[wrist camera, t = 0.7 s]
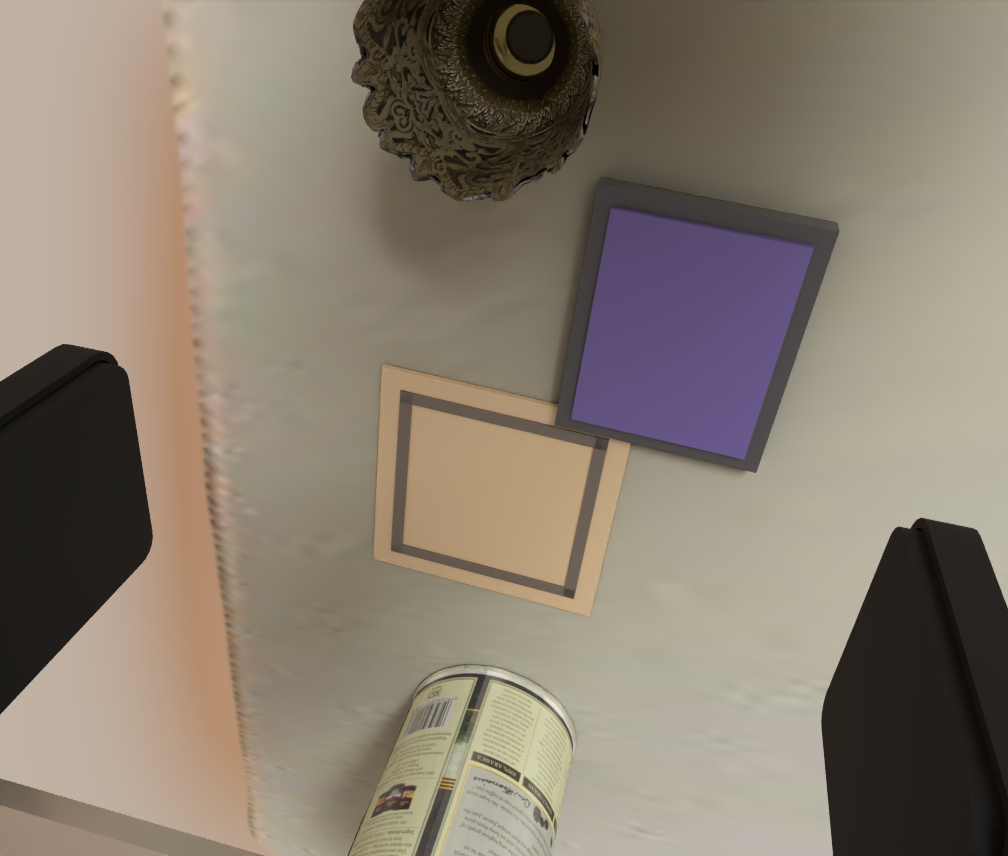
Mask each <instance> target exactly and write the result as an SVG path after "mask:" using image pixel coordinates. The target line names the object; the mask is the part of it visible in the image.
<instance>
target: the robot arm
mask: <svg viewBox="0 0 1008 856" xmlns="http://www.w3.org/2000/svg"><path fill="white" fill-rule="evenodd" d="M152 539H153V535H152V526H151V520H150V513H149V507H148V501H147V494H146V487H145V482H144V476H143V468H142V462H141V455H140V449H139V442H138V436H137V430H136V423H135V417H134V410H133V404H132V398H131V391H130V385H129V379H128V375H127V373H126V371H125V370H124V369H123V368H122V367H120V366H118V362H117V361H116V359H115V358H114V356H113V355H111V354H110V353H108V352H104V351H99V350H94V349H89V348H84V347H80V346H75V345H68V344H62V345H60V346H57V347H55V348H54V349H52V350H51V351H49V352H47V353H46V354H44V355H42V356H41V357H39V358H37V359H36V360H34V361H33V362H31V363H29V364H28V365H26V366H25V367H23V368H21V369H20V370H18V371H17V372H15V373H13V374H12V375H10V376H9V377H7V378H5V379H4V380H2V381H0V714H1V713H2V712H3V711H4V710H5V709H6V708H7V706H8V705H9V704H10V703H11V702H12V701H13V700H14V699H15V698H16V697H17V696H18V695H19V694H20V693H21V692H22V691H23V690H24V688H25V687H26V686H27V685H28V684H29V683H30V682H31V681H32V680H33V679H34V678H35V677H36V676H37V675H38V674H39V672H40V671H41V670H42V669H43V668H44V667H45V666H46V665H47V664H48V663H49V662H50V661H51V660H52V659H53V658H54V656H55V655H56V654H57V653H58V652H59V651H60V650H61V649H62V648H63V647H64V646H65V645H66V644H67V643H68V642H69V640H70V639H71V638H72V637H73V636H74V635H75V634H76V633H77V632H78V631H79V630H80V629H81V628H82V627H83V626H84V625H85V623H86V622H87V621H88V620H89V619H90V618H91V617H92V616H93V615H94V614H95V613H96V612H97V610H98V609H100V607H101V606H102V605H103V604H104V603H105V602H106V601H107V600H108V599H109V598H110V597H111V596H112V595H113V594H114V593H115V591H116V590H117V589H118V588H119V587H120V586H121V585H122V584H123V583H124V582H125V581H126V580H127V579H128V578H129V577H130V575H131V574H132V573H133V572H134V571H135V570H136V569H137V568H138V567H139V566H140V565H141V564H142V563H143V561H144V560H145V559H146V557H147V555H148V553H149V551H150V548H151V545H152ZM821 722H822V737H823V748H824V759H825V770H826V781H827V792H828V803H829V814H830V825H831V836H832V847H833V856H1008V608H1007V605H1006V603H1005V600H1004V597H1003V595H1002V592H1001V589H1000V587H999V584H998V581H997V579H996V576H995V573H994V571H993V568H992V565H991V563H990V560H989V557H988V555H987V552H986V549H985V547H984V544H983V541H982V539H981V536H980V534H979V533H978V531H977V530H975V529H973V528H969V527H964V526H959V525H954V524H949V523H944V522H939V521H934V520H929V519H925V518H920V519H917V520H916V521H915V523H914V524H913V525H912V527H911V529H908V528H903V527H897V528H895V530H894V531H893V532H892V534H891V536H890V538H889V541H888V543H887V546H886V548H885V550H884V553H883V555H882V558H881V560H880V563H879V565H878V568H877V570H876V573H875V575H874V578H873V580H872V582H871V585H870V587H869V590H868V592H867V595H866V597H865V600H864V602H863V605H862V607H861V609H860V612H859V614H858V617H857V619H856V622H855V624H854V627H853V629H852V632H851V634H850V637H849V639H848V641H847V644H846V646H845V649H844V651H843V654H842V656H841V659H840V661H839V664H838V666H837V668H836V671H835V673H834V676H833V678H832V681H831V683H830V686H829V688H828V691H827V693H826V696H825V700H824V704H823V710H822V721H821ZM0 856H263V855H259V854H256V853H253V852H249V851H246V850H242V849H239V848H236V847H233V846H229V845H226V844H222V843H219V842H216V841H212V840H209V839H205V838H202V837H199V836H195V835H192V834H188V833H185V832H182V831H178V830H175V829H171V828H168V827H164V826H161V825H158V824H154V823H151V822H148V821H144V820H141V819H137V818H134V817H130V816H127V815H124V814H120V813H116V812H114V811H110V810H106V809H103V808H100V807H96V806H93V805H89V804H86V803H83V802H79V801H76V800H73V799H69V798H66V797H62V796H58V795H55V794H52V793H48V792H45V791H42V790H38V789H34V788H31V787H28V786H24V785H21V784H17V783H14V782H10V781H7V780H3V779H0Z"/></svg>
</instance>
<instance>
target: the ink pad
mask: <svg viewBox="0 0 1008 856" xmlns="http://www.w3.org/2000/svg"><path fill="white" fill-rule="evenodd" d="M838 233H839V229H838V224H837V223H836V222H831V221H826V220H821V219H816V218H810V217H805V216H800V215H795V214H790V213H784V212H779V211H774V210H769V209H764V208H758V207H753V206H748V205H743V204H738V203H733V202H727V201H722V200H717V199H712V198H707V197H701V196H696V195H691V194H686V193H681V192H676V191H670V190H665V189H660V188H655V187H650V186H644V185H639V184H634V183H629V182H624V181H618V180H613V179H608V178H603V177H601V179H600V181H599V182H598V184H597V189H596V195H595V200H594V206H593V212H592V217H591V223H590V229H589V234H588V240H587V245H586V251H585V257H584V262H583V268H582V273H581V279H580V285H579V290H578V296H577V302H576V307H575V313H574V318H573V324H572V330H571V335H570V341H569V347H568V352H567V358H566V363H565V369H564V375H563V380H562V386H561V391H560V397H559V403H558V408H557V414H556V420H555V425H556V426H560V427H564V428H568V429H573V430H577V431H581V432H585V433H589V434H594V435H598V436H602V437H606V438H611V439H615V440H619V441H623V442H628V443H632V444H636V445H640V446H644V447H649V448H653V449H657V450H661V451H666V452H670V453H674V454H678V455H683V456H687V457H691V458H695V459H699V460H704V461H708V462H712V463H716V464H721V465H725V466H729V467H733V468H738V469H742V470H746V471H750V472H754V473H756V472H757V469H758V466H759V463H760V460H761V457H762V454H763V451H764V448H765V446H766V443H767V440H768V437H769V434H770V431H771V428H772V425H773V422H774V419H775V416H776V414H777V411H778V408H779V405H780V402H781V399H782V396H783V393H784V390H785V387H786V384H787V382H788V379H789V376H790V373H791V370H792V367H793V364H794V361H795V358H796V355H797V352H798V350H799V347H800V344H801V341H802V338H803V335H804V332H805V329H806V326H807V323H808V320H809V318H810V315H811V312H812V309H813V306H814V303H815V300H816V297H817V294H818V291H819V288H820V286H821V283H822V280H823V277H824V274H825V271H826V268H827V265H828V262H829V259H830V256H831V254H832V251H833V248H834V245H835V242H836V239H837V236H838Z"/></svg>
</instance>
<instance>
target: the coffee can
mask: <svg viewBox="0 0 1008 856" xmlns="http://www.w3.org/2000/svg"><path fill="white" fill-rule="evenodd" d="M575 749H576V734H575V729H574V725H573V723H572V721H571V719H570V717H569V716H568V714H567V712H566V711H565V709H564V708H563V707H562V705H561V704H560V703H559V702H558V701H557V700H556V699H555V698H554V697H553V696H552V695H550V694H549V693H548V692H547V691H545V690H544V689H543V688H541V687H540V686H538V685H536V684H535V683H533V682H532V681H530V680H529V679H526V678H524V677H521V676H519V675H517V674H514V673H512V672H509V671H506V670H503V669H500V668H495V667H489V666H482V665H461V666H455V667H450V668H446V669H443V670H440V671H438V672H436V673H434V674H432V675H431V676H429V677H428V678H427V679H425V680H424V681H423V682H422V683H421V684H420V685H419V686H418V688H417V690H416V692H415V694H414V697H413V700H412V705H411V707H410V709H409V711H408V714H407V716H406V719H405V721H404V723H403V726H402V728H401V731H400V733H399V735H398V738H397V740H396V743H395V745H394V747H393V750H392V752H391V754H390V757H389V759H388V762H387V764H386V766H385V769H384V771H383V774H382V776H381V778H380V781H379V783H378V785H377V788H376V790H375V792H374V795H373V797H372V799H371V802H370V804H369V807H368V809H367V811H366V813H365V815H364V818H363V820H362V822H361V824H360V827H359V829H358V832H357V834H356V836H355V839H354V841H353V844H352V846H351V848H350V851H349V853H348V856H552V852H553V848H554V843H555V838H556V833H557V828H558V824H559V819H560V814H561V809H562V805H563V800H564V795H565V790H566V785H567V780H568V775H569V771H570V766H571V762H572V759H573V756H574V753H575Z"/></svg>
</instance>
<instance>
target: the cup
mask: <svg viewBox="0 0 1008 856" xmlns="http://www.w3.org/2000/svg"><path fill="white" fill-rule="evenodd" d="M526 13H532V14H536V15H538V16H540V17H541V18H543V19H544V20H545V22H546V23H547V24H548V26H549V29H550V32H551V44H550V47H549V50H548V51H547V53H546V54H545V55H544V56H543V57H542V58H541V59H539V60H537V61H534V62H526V61H523V60H520V59H519V58H517V57H516V56H515V55H514V54H513V53H512V51H511V49H510V47H509V44H508V30H509V27H510V25H511V23H512V22H513V21H514V20H515V19H516V18H517V17H518V16H520V15H522V14H526ZM353 30H354V35H355V38H356V43H357V44H358V46H359V48H360V53H361V55H362V57H361V59H360V60H358V62H356V63H355V66H354V67H353V70H352V75H351V78H352V80H353V82H354V83H356V84H359V85H361V86H362V87H366V88H368V89H370V92H369V94H368V96H367V97H366V100H365V103H364V105H363V115H364V119H365V121H366V124H367V125H368V126H369V127H370V128H371V129H372V130H373V131H374V132H375V131H377V132H379V134H378V137H379V138H380V148H381V149H383V150H384V151H387V152H389V153H392V154H395V155H397V156H398V157H399V158H401V159H406V158H409V159H410V160H411V162H410V168H409V169H410V171H411V175H412V178H413V180H415V181H426V180H433V181H434V182H436V183H437V184H438V185H439V186H440V188H441V191H442V192H444V193H446V194H447V195H449V196H450V197H452V198H454V199H455V200H457V201H473V200H477V199H486V198H490V197H493V200H494V201H503V200H507V199H509V198H511V197H513V196H514V195H515V194H516V192H517V191H518V190H519V189H520V188H521V186H523V185H524V184H527V183H529V182H532V181H537V180H539V179H540V178H541V177H542V176H543V175H544V174H546V173H548V172H553V173H552V174H555V173H556V172H557V171H558V170H559V169H560V168H561V167H562V166H563V164H564V163H565V161H566V159H567V157H569V156H570V155H571V154H572V153H574V152H575V151H576V150H577V149H578V147H579V145H580V144H581V142H582V140H583V139H584V136H585V134H586V131H587V128H588V124H589V120H590V116H591V113H592V110H593V107H594V103H595V100H596V96H597V91H598V85H599V80H600V75H601V66H602V42H601V33H600V28H599V24H598V20H597V17H596V14H595V11H594V8H593V6H592V4H591V2H590V0H364V1H363V3H362V5H361V6H360V8H359V10H358V12H357V14H356V17H355V19H354V24H353ZM365 85H366V86H365Z"/></svg>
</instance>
